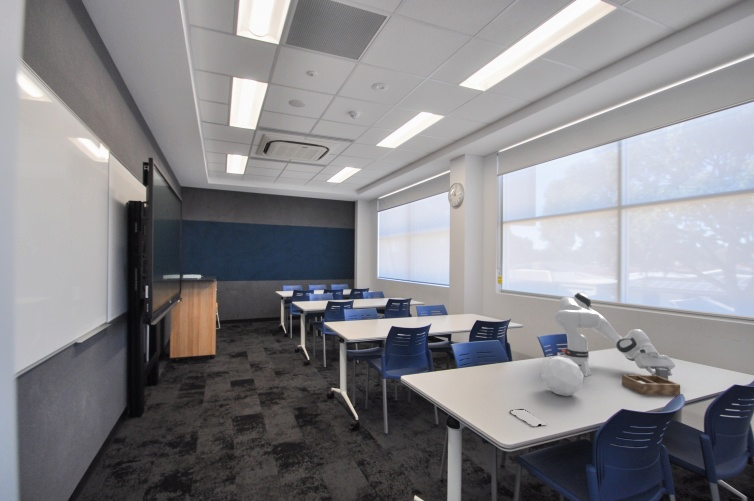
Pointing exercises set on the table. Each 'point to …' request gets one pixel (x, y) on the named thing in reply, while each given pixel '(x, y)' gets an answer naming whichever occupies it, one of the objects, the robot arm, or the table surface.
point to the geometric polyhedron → (562, 376)
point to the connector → (662, 372)
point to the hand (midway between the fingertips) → (662, 375)
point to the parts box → (651, 385)
